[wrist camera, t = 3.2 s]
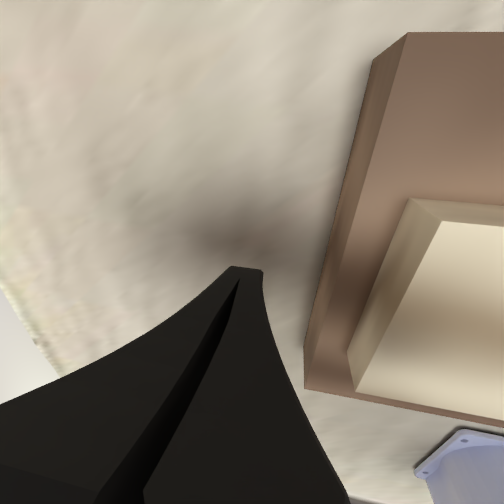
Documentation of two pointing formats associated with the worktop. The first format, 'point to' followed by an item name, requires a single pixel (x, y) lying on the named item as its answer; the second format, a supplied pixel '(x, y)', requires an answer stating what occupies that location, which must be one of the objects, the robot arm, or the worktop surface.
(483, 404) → the cream square slab
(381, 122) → the walnut board
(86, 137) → the worktop surface
